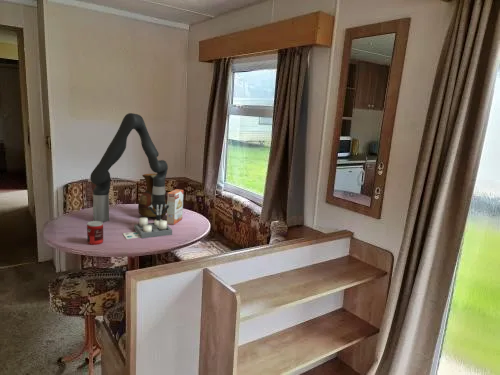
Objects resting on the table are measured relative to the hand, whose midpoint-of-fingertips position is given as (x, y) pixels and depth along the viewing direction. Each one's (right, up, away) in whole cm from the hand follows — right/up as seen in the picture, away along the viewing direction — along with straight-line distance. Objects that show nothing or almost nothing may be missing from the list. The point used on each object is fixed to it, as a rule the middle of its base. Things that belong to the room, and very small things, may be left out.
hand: (158, 220), depth 218 cm
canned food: (-27, -10, -27) cm, 40 cm away
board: (-2, -7, -5) cm, 9 cm away
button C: (-3, -7, -11) cm, 14 cm away
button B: (0, -5, +1) cm, 5 cm away
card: (-11, -8, -14) cm, 19 cm away
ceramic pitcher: (-10, 0, +26) cm, 28 cm away
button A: (-8, -3, -4) cm, 9 cm away
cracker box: (+6, -3, +18) cm, 19 cm away
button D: (+4, -4, -7) cm, 9 cm away
